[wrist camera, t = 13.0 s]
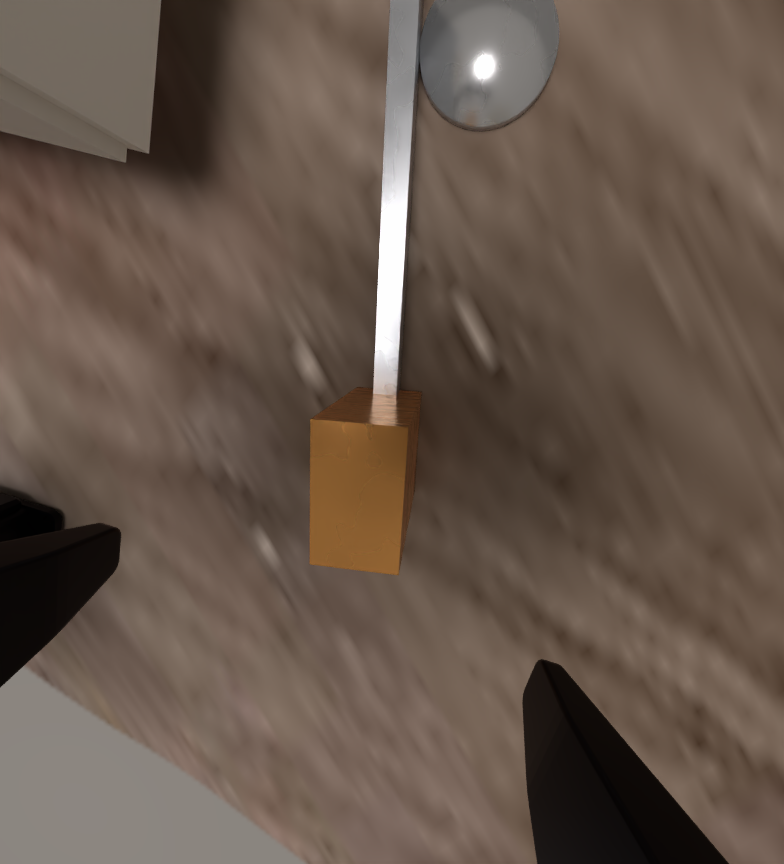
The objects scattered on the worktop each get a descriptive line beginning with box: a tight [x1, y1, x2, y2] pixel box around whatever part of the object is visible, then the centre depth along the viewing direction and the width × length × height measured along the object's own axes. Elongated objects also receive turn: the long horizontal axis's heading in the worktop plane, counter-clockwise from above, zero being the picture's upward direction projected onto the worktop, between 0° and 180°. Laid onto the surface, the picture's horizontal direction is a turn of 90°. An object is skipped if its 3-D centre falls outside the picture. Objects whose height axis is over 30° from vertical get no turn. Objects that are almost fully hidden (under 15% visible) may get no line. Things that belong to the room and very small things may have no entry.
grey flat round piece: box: [420, 0, 559, 131], centre depth 15 cm, size 5×5×1 cm
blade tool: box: [310, 0, 423, 575], centre depth 14 cm, size 20×3×7 cm, turn 177°
